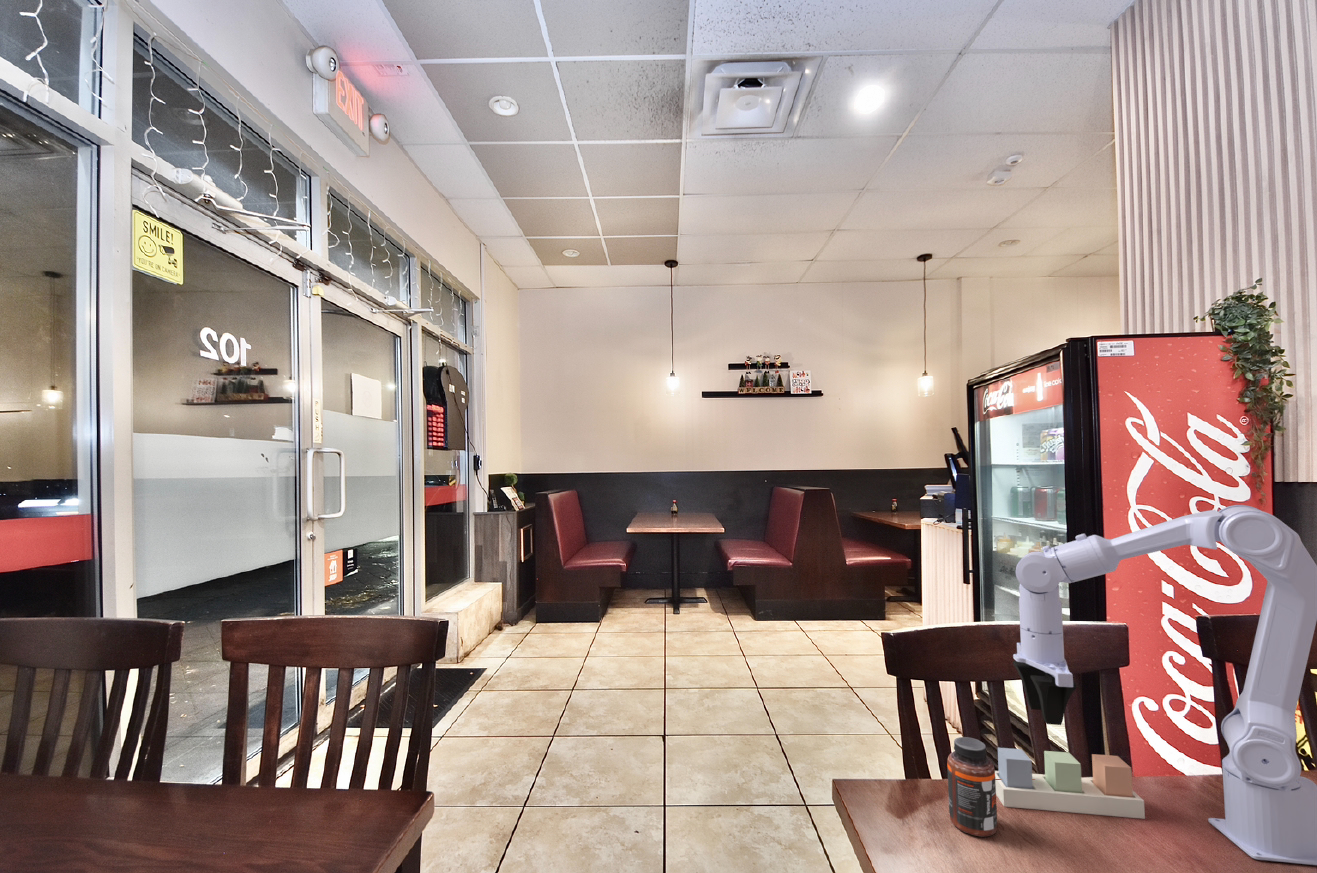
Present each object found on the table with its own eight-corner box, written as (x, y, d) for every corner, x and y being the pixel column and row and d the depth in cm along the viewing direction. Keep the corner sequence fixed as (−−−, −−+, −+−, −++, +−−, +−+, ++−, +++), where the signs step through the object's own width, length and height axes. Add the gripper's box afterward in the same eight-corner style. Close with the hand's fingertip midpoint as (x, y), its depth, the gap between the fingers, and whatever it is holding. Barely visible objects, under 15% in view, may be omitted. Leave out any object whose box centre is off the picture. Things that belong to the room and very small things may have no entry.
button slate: (1023, 779, 89) (1021, 749, 89) (1032, 791, 85) (1031, 760, 85) (998, 777, 89) (997, 747, 89) (1007, 789, 86) (1006, 758, 86)
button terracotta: (1119, 786, 86) (1117, 756, 86) (1133, 800, 83) (1131, 767, 83) (1093, 784, 87) (1091, 754, 87) (1106, 797, 83) (1104, 766, 84)
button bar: (1122, 797, 87) (1122, 780, 87) (1144, 818, 82) (1144, 800, 82) (990, 786, 90) (990, 770, 90) (1004, 806, 85) (1003, 789, 85)
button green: (1070, 782, 87) (1068, 752, 88) (1082, 795, 84) (1080, 764, 84) (1045, 781, 88) (1044, 750, 88) (1056, 793, 85) (1054, 762, 85)
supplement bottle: (1004, 841, 77) (1001, 755, 78) (956, 836, 79) (953, 751, 79) (988, 814, 83) (985, 734, 84) (944, 810, 84) (941, 731, 85)
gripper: (996, 615, 100) (999, 696, 99) (1033, 642, 85) (1038, 735, 85) (1041, 617, 98) (1045, 698, 98) (1087, 644, 84) (1091, 739, 84)
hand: (1045, 716), depth 91 cm, fingers open, 5 cm apart
